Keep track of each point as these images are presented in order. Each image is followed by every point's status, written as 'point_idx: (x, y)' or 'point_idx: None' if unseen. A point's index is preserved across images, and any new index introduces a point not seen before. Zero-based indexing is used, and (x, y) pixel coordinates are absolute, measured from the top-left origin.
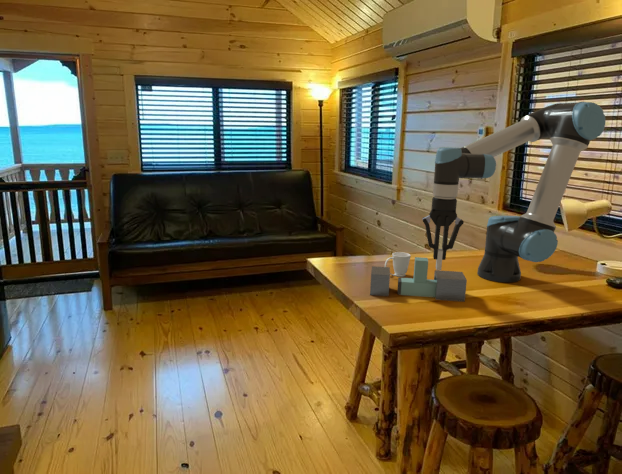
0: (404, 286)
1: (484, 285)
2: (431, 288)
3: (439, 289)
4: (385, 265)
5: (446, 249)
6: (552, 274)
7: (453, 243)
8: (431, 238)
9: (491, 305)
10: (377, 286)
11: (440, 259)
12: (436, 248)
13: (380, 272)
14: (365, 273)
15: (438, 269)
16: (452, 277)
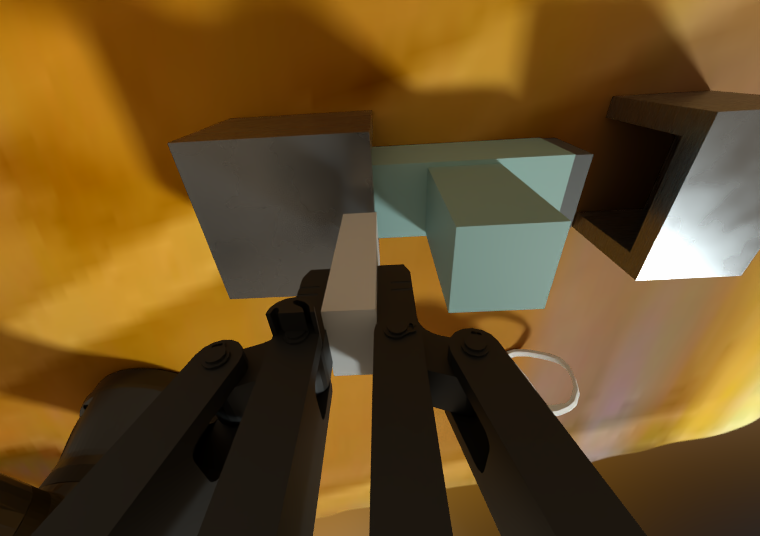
0: (544, 149)
1: (191, 331)
2: (396, 156)
3: (353, 119)
4: (572, 372)
5: (275, 323)
6: (32, 446)
7: (157, 407)
8: (516, 458)
9: (95, 97)
10: (720, 97)
11: (348, 256)
12: (398, 326)
13: (757, 163)
14: (615, 349)
15: (362, 215)
16: (269, 179)
